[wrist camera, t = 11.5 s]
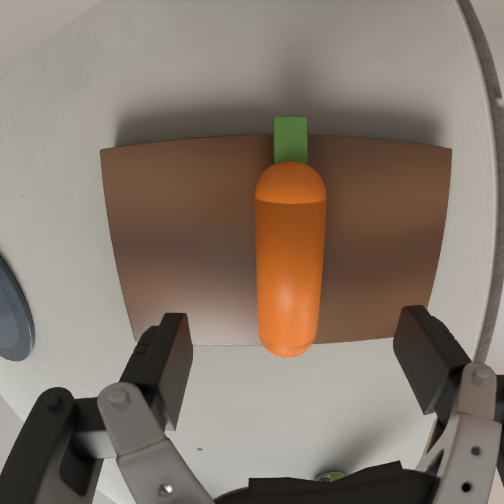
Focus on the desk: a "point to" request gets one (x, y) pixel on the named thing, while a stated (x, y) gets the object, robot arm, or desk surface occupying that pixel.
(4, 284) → the slate plate
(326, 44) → the desk surface
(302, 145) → the carrot
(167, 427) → the robot arm
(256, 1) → the desk surface
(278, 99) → the desk surface
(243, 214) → the cutting board
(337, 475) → the beverage can
